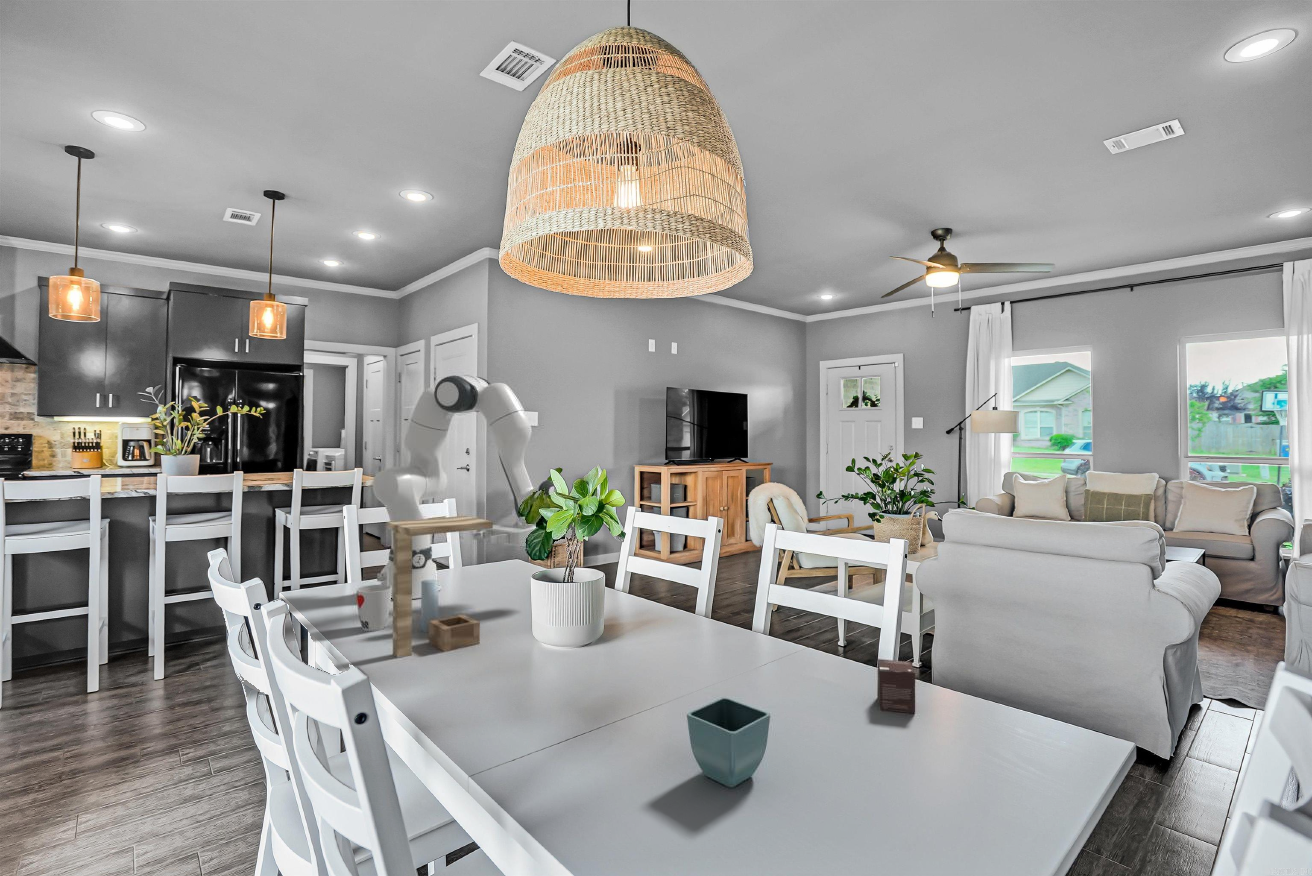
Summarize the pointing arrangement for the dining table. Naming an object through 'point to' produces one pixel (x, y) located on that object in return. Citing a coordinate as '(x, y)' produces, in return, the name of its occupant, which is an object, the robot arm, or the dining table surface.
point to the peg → (428, 603)
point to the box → (896, 686)
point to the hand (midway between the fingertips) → (481, 538)
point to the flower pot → (728, 739)
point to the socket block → (454, 632)
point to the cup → (373, 606)
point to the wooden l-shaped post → (404, 568)
